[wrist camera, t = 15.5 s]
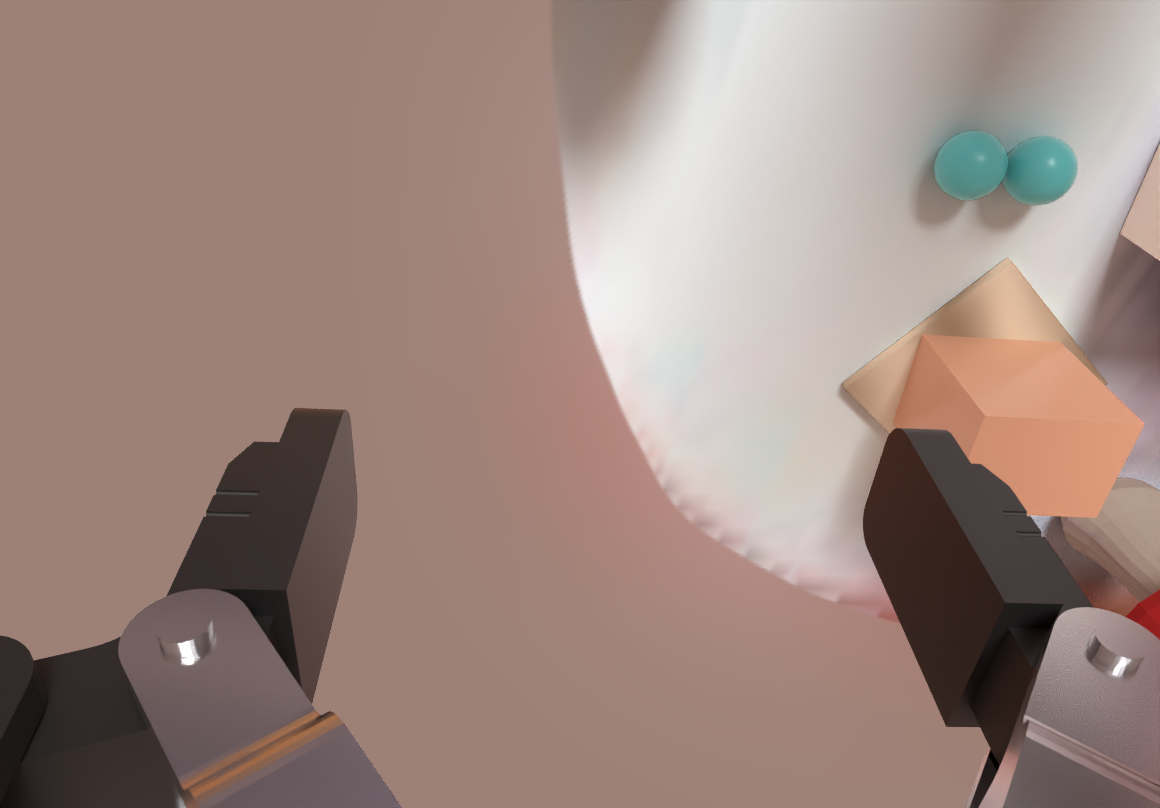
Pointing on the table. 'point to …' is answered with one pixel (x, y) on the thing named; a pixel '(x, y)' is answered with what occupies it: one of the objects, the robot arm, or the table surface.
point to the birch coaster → (979, 311)
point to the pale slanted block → (1146, 212)
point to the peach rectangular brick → (1023, 418)
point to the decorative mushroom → (1126, 544)
